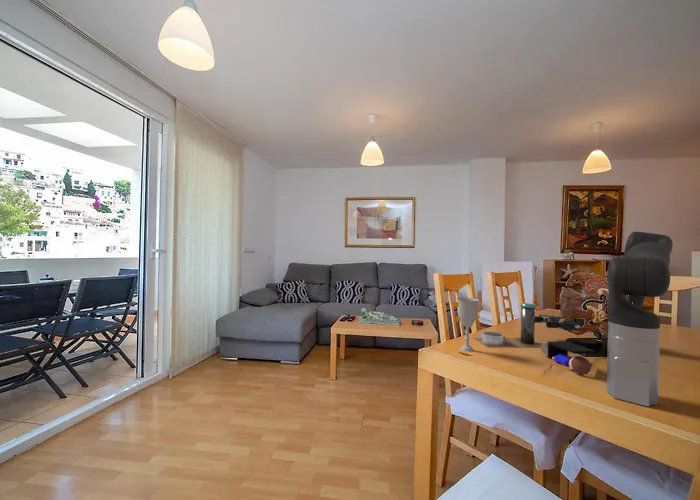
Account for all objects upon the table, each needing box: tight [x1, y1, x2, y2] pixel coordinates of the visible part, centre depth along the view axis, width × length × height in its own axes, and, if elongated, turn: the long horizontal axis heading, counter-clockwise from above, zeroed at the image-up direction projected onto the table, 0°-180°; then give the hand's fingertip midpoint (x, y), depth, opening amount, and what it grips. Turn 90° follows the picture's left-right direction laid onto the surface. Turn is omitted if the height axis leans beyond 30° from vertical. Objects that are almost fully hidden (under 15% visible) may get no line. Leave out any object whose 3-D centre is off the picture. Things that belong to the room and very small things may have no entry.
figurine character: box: [540, 340, 596, 376], centre depth 94 cm, size 7×8×15 cm
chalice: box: [456, 297, 480, 357], centre depth 105 cm, size 7×7×18 cm
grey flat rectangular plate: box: [472, 337, 542, 349], centre depth 115 cm, size 22×12×1 cm, turn 93°
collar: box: [480, 331, 506, 346], centre depth 114 cm, size 8×8×3 cm
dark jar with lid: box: [520, 302, 537, 344], centre depth 115 cm, size 5×5×14 cm
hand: (539, 321), depth 115 cm, fingers open, 8 cm apart
